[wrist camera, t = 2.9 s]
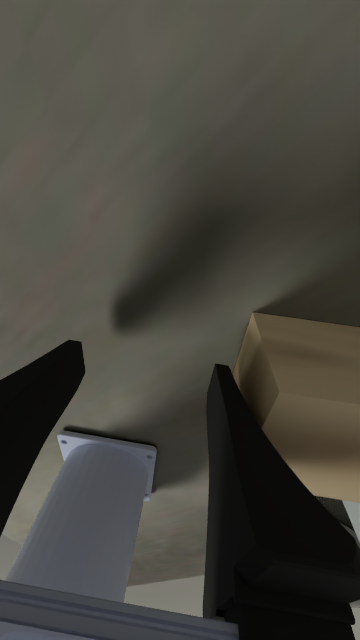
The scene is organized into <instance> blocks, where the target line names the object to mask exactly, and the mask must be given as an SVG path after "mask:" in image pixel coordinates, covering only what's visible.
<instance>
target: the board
mask: <svg viewBox="0 0 360 640" xmlns="http://www.w3.org/2000/svg"><path fill="white" fill-rule="evenodd" d="M342 501H343V504H344V506H345V509H346V511H347V513H348V516H349V518H350V521H351V523H352V525H353V528H354V530H355V533H356V535H357V537H358V540H359V542H360V503H357V502H351V501H345V500H342Z"/></svg>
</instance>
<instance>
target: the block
mask: <svg viewBox="0 0 360 640" xmlns="http://www.w3.org/2000/svg"><path fill="white" fill-rule="evenodd" d="M233 377H234V379H235V381H236V384H237V386H238V388H239V390H240V392H241V394H242V396H243V397H244V399H245V401H246V403H247V405H248V407H249V409H250V410H251V412H252V414H253V415H254V417H255V419H256V420H257V422H258V424H259V425H260V427H261V428H262V430H263V431H264V433H265V434H266V436H267V437H268V439H269V440H270V442H271V443H272V445H273V446H274V447H275V449H276V450H277V451H278V453H279V454H280V455H281V457H282V458H283V459H284V461H285V462H286V463H287V464H288V466H289V467H290V468H291V469H292V471H293V472H294V473H295V474H296V475H297V477H298V478H299V479H300V480H301V481H302V483H303V484H304V485H305V486H306V487H307V489H308V490H309V491H310V492H311V493H312V494H313V495H314V496H320V497H327V498H333V499H339V500H345V501H351V502H357V503H360V327H354V326H347V325H340V324H333V323H326V322H319V321H312V320H305V319H297V318H290V317H283V316H276V315H269V314H262V313H255V312H252V315H251V318H250V322H249V325H248V328H247V331H246V334H245V337H244V340H243V344H242V347H241V350H240V353H239V356H238V359H237V362H236V366H235V369H234V372H233Z"/></svg>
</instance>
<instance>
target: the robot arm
mask: <svg viewBox="0 0 360 640" xmlns="http://www.w3.org/2000/svg"><path fill="white" fill-rule="evenodd" d="M84 374H85V365H84V358H83V350H82V343H81V342H80V341H73V340H68V341H66V342H64V343H63V344H61V345H60V346H58V347H56V348H55V349H53V350H51V351H50V352H48V353H47V354H45V355H43V356H42V357H40V358H38V359H37V360H35V361H33V362H32V363H30V364H28V365H27V366H25V367H23V368H21V369H20V370H18V371H16V372H14V373H12V374H11V375H9V376H7V377H5V378H3V379H2V380H0V536H1V534H2V532H3V529H4V527H5V524H6V522H7V520H8V517H9V515H10V513H11V511H12V509H13V506H14V504H15V502H16V500H17V498H18V495H19V493H20V491H21V489H22V487H23V485H24V482H25V480H26V478H27V476H28V474H29V472H30V470H31V468H32V466H33V464H34V462H35V460H36V458H37V456H38V454H39V452H40V450H41V448H42V446H43V444H44V443H45V441H46V439H47V437H48V436H49V434H50V432H51V431H52V429H53V428H54V426H55V424H56V423H57V421H58V420H59V418H60V417H61V415H62V413H63V412H64V410H65V409H66V407H67V406H68V404H69V402H70V401H71V399H72V398H73V396H74V394H75V393H76V391H77V389H78V387H79V385H80V383H81V381H82V379H83V376H84ZM206 414H207V433H208V450H209V499H208V525H207V545H206V563H205V580H204V595H203V618H202V617H197V616H191V615H186V614H180V613H175V612H169V611H164V610H159V609H154V608H148V607H143V606H137V605H132V604H127V603H123V602H124V597H125V592H126V587H127V582H128V577H129V572H130V567H131V562H132V557H133V552H134V547H135V542H136V537H137V532H138V527H139V522H140V517H141V512H142V506H143V501H149V500H150V498H151V491H152V483H153V476H154V469H155V461H156V454H157V449H156V448H155V447H154V446H150V445H145V444H139V443H133V442H127V441H122V440H116V439H110V438H104V437H99V436H93V435H87V434H81V433H76V432H70V431H60V432H59V434H58V435H57V438H58V441H59V445H60V448H61V452H62V455H63V459H64V464H63V466H62V468H61V470H60V471H59V473H58V475H57V477H56V479H55V481H54V483H53V485H52V487H51V489H50V491H49V493H48V495H47V497H46V499H45V501H44V503H43V505H42V507H41V509H40V511H39V513H38V515H37V517H36V519H35V521H34V523H33V525H32V527H31V529H30V531H29V533H28V535H27V537H26V539H25V541H24V543H23V545H22V547H21V549H20V551H19V553H18V555H17V557H16V559H15V561H14V563H13V565H12V567H11V569H10V571H9V573H8V575H7V577H6V579H5V581H3V580H0V640H355V637H354V634H353V631H352V627H351V625H354V624H355V618H354V615H353V612H352V609H351V606H350V603H352V602H355V601H358V600H360V548H359V546H358V544H357V542H356V540H355V538H354V537H353V536H352V535H351V534H350V533H349V532H348V531H347V530H346V529H345V528H344V527H343V526H342V525H341V524H340V523H339V522H338V521H337V520H336V519H335V518H334V517H333V516H332V515H331V513H330V512H329V511H328V510H327V509H326V508H325V507H324V506H323V505H322V504H321V503H320V502H319V501H318V500H317V499H316V498H315V496H314V495H313V494H312V493H311V492H310V491H309V490H308V489H307V487H306V486H305V485H304V484H303V483H302V481H301V480H300V479H299V478H298V477H297V475H296V474H295V473H294V472H293V471H292V469H291V468H290V467H289V466H288V464H287V463H286V462H285V461H284V459H283V458H282V457H281V455H280V454H279V453H278V451H277V450H276V449H275V447H274V446H273V445H272V443H271V442H270V440H269V439H268V437H267V436H266V434H265V433H264V431H263V430H262V428H261V427H260V425H259V424H258V422H257V420H256V419H255V417H254V415H253V414H252V412H251V410H250V409H249V407H248V405H247V403H246V401H245V399H244V397H243V396H242V394H241V392H240V390H239V388H238V386H237V384H236V381H235V379H234V377H233V375H232V372H231V370H230V368H229V366H226V365H220V364H215V367H214V371H213V374H212V378H211V381H210V385H209V389H208V392H207V410H206Z"/></svg>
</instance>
